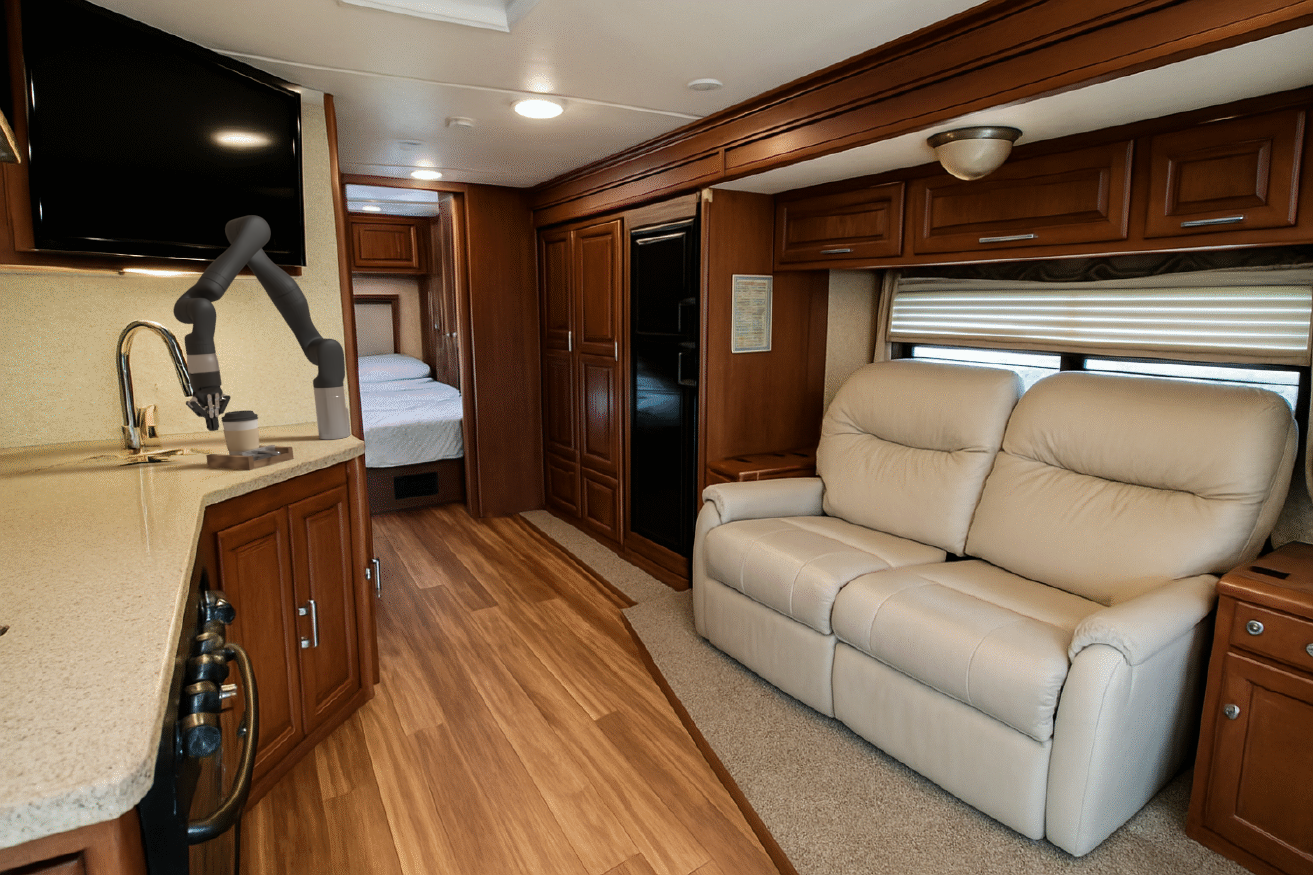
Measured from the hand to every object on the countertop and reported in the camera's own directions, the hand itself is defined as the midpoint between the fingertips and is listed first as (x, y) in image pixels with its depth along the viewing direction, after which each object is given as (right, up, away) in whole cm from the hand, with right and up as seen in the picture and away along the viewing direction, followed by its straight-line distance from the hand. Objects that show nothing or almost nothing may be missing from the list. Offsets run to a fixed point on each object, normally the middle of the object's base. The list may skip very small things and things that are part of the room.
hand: (213, 430), depth 204 cm
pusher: (+18, -9, -4) cm, 21 cm away
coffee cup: (+11, -9, -2) cm, 15 cm away
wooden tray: (+12, -9, -3) cm, 16 cm away
